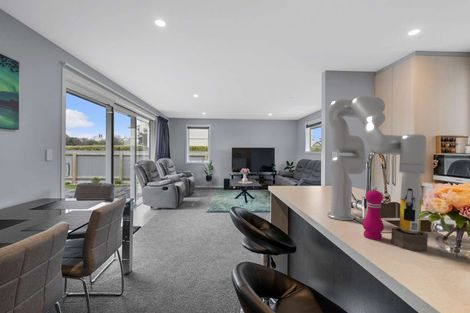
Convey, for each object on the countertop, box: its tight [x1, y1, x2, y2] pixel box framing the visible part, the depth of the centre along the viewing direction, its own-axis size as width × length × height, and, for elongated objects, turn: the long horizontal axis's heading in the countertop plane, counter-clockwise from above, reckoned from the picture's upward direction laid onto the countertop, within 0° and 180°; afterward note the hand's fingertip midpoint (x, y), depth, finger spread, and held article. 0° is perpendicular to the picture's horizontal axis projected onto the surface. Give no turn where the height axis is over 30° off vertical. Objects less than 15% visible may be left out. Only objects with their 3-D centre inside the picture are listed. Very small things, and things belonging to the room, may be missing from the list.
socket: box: [390, 226, 429, 252], centre depth 87 cm, size 10×10×5 cm
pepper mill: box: [362, 186, 384, 241], centre depth 94 cm, size 7×7×20 cm
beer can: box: [399, 190, 423, 233], centre depth 87 cm, size 6×6×15 cm
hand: (410, 218), depth 87 cm, fingers closed on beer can, 6 cm apart
